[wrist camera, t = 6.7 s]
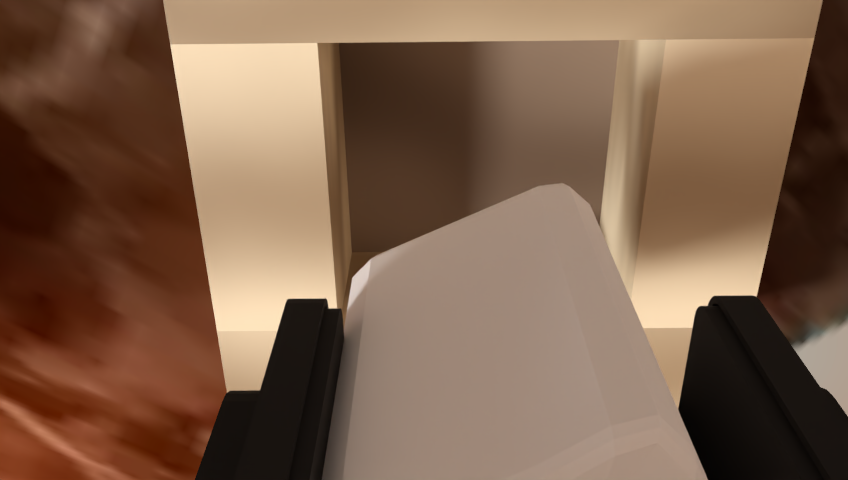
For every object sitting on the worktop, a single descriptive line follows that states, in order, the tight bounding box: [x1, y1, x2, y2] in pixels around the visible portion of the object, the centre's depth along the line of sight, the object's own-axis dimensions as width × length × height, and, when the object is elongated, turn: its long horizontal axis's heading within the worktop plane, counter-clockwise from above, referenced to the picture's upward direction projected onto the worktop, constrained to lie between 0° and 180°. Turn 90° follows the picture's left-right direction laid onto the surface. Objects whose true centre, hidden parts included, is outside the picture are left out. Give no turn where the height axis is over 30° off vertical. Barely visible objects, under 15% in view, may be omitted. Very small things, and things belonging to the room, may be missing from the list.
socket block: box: [163, 0, 823, 409], centre depth 18 cm, size 12×12×4 cm
